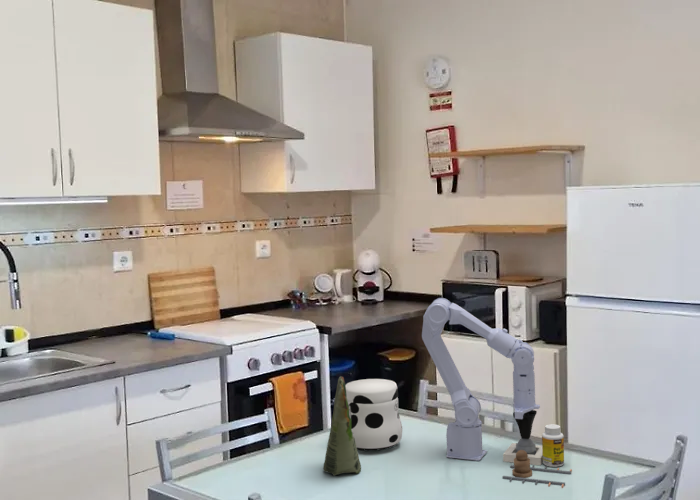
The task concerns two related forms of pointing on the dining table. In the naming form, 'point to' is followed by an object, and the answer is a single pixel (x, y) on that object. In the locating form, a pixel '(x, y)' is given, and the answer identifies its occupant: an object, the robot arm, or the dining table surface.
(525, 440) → the dome
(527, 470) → the pawn
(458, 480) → the dining table surface
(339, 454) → the green tall cone
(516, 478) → the track
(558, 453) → the supplement bottle
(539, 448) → the housing
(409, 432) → the dining table surface
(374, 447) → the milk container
